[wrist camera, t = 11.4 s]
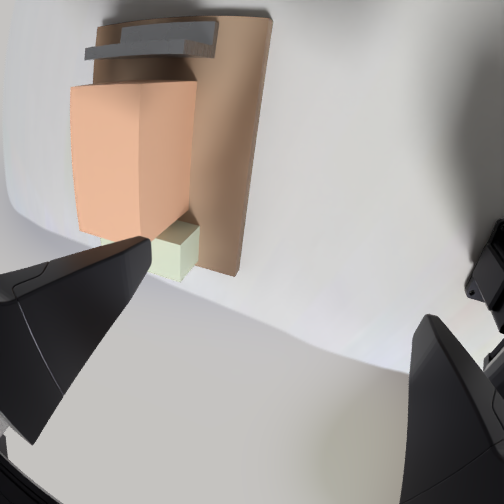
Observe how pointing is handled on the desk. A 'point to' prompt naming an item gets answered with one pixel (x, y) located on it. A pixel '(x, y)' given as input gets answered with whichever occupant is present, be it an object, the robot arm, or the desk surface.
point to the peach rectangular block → (131, 155)
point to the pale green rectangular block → (173, 250)
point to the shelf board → (211, 124)
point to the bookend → (161, 42)
